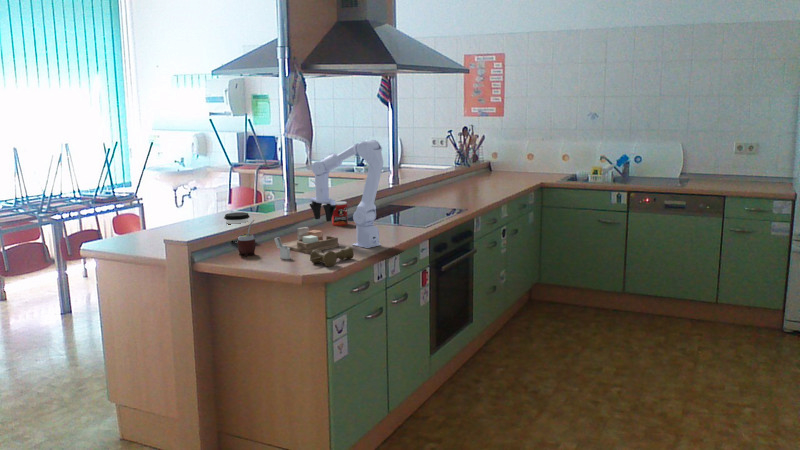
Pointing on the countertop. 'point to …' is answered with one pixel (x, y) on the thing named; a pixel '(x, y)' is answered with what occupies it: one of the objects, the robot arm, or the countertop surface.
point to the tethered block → (309, 233)
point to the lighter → (282, 249)
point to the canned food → (340, 214)
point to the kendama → (331, 256)
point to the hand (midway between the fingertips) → (323, 220)
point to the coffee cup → (236, 218)
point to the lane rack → (312, 245)
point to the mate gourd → (246, 243)
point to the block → (309, 239)
